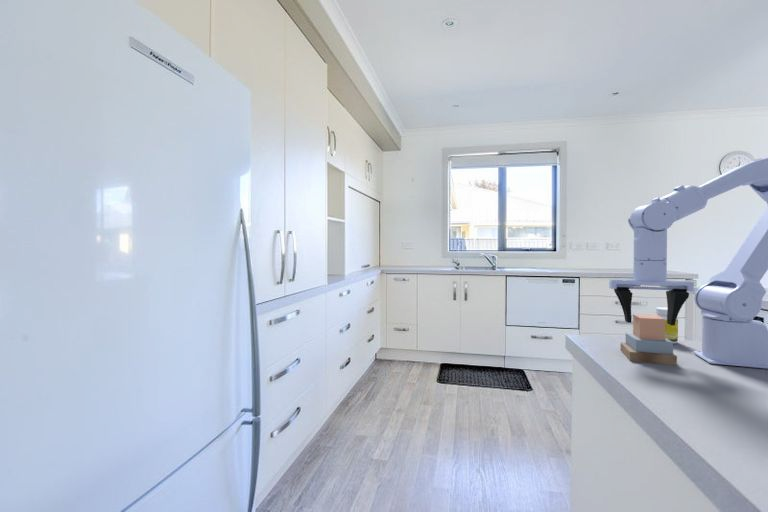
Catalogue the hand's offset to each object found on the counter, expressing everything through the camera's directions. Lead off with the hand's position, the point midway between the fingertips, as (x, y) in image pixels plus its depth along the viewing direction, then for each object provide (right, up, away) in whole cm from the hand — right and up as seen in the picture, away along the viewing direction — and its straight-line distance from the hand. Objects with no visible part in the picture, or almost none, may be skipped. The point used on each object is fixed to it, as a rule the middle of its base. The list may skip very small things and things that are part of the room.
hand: (649, 323), depth 76 cm
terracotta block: (0, -3, 0) cm, 3 cm away
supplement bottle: (+14, -7, +13) cm, 20 cm away
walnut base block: (0, -8, 0) cm, 8 cm away
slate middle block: (0, -6, 0) cm, 6 cm away
